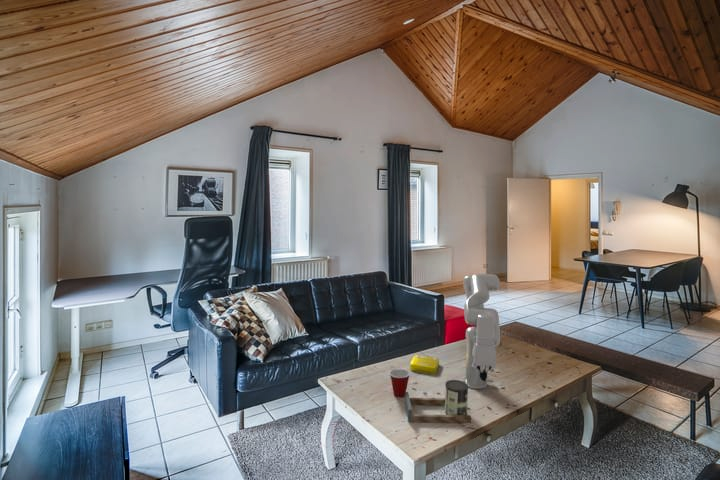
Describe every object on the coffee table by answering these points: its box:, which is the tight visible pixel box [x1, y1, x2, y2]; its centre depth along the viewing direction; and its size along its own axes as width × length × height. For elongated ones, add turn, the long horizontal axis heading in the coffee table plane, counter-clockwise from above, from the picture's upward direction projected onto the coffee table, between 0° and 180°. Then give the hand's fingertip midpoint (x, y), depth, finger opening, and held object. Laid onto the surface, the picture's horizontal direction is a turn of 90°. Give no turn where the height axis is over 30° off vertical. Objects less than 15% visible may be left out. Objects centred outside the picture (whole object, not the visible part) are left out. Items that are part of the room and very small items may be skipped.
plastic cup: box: [388, 368, 411, 398], centre depth 196 cm, size 11×11×12 cm
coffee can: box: [444, 379, 469, 415], centre depth 179 cm, size 10×10×14 cm
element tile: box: [409, 354, 440, 375], centre depth 229 cm, size 15×15×5 cm
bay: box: [404, 391, 472, 424], centre depth 180 cm, size 28×16×6 cm, turn 89°
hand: (483, 379), depth 178 cm, fingers closed
